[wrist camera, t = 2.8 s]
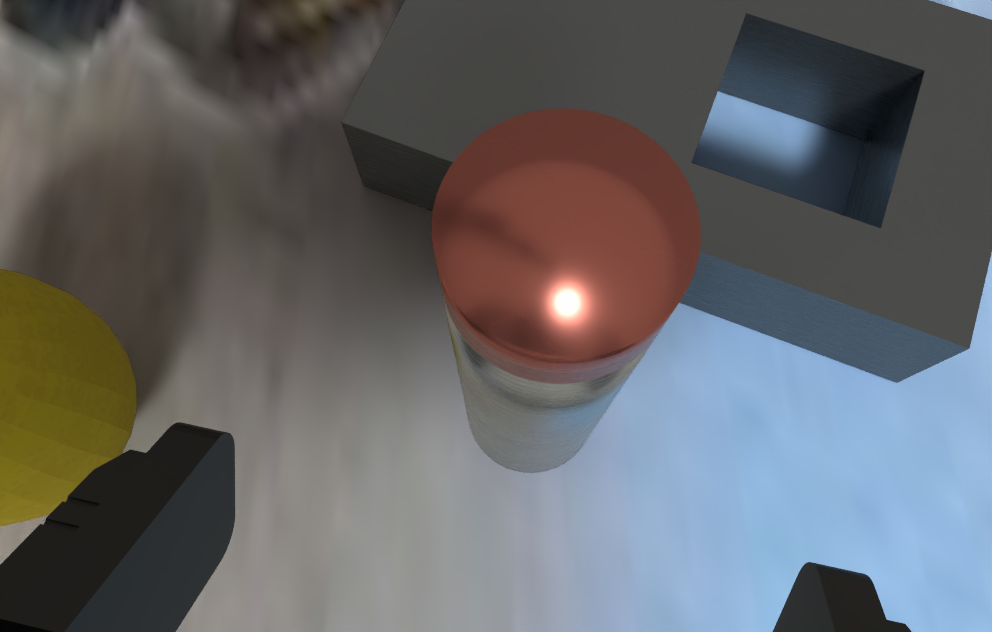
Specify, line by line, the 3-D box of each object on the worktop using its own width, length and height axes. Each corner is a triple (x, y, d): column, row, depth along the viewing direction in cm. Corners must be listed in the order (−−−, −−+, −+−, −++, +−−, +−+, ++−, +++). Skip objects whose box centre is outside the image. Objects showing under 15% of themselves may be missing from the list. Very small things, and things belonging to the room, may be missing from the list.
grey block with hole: (363, 185, 24) (341, 121, 20) (481, -49, 26) (478, -140, 23) (896, 382, 22) (969, 348, 18) (966, 109, 24) (1041, 35, 21)
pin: (448, 443, 21) (387, 296, 10) (495, 330, 22) (492, 75, 11) (567, 492, 21) (650, 398, 9) (610, 375, 22) (734, 159, 10)
